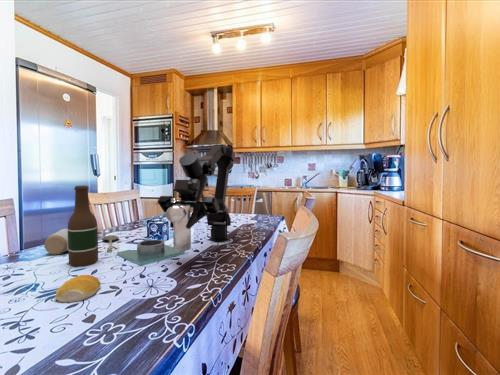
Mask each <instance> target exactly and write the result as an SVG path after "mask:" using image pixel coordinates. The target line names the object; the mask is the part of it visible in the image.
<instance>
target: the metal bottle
mask: <svg viewBox="0 0 500 375" xmlns="http://www.w3.org/2000/svg"><path fill="white" fill-rule="evenodd" d="M165 217H166V220H167V221H169V222H173V228H172V229H173V230H172V232H173V233H172V234H173V238H172V239H173V247H174V250H175V251H185V252H186V251H188V250H191V248H192V236H191V233H192V231H191V229H192V227H191V228H190V229H188V228H187V225H188V222H189V219H190V217H191V208H190V205H189V204H178V205H173V207H170V208H168V209H167V211H166V212H165Z"/></svg>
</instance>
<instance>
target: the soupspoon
mask: <svg viewBox="0 0 500 375" xmlns="http://www.w3.org/2000/svg"><path fill="white" fill-rule="evenodd" d="M119 238H120V236H118V235H115V234H113V235H111V234H110V235H106V236H104V237H102V238H101V240H102V241H108V243H109V244H108V245H109V246H108V248H107V249H106V252H107V253H112V252H113V248H112V244H113V241H115V240H117V239H119Z"/></svg>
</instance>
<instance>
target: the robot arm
mask: <svg viewBox="0 0 500 375" xmlns="http://www.w3.org/2000/svg"><path fill="white" fill-rule="evenodd" d="M235 161H236V153H235V152H234V151H233V149H231V148H229V147H227V145H226V144H223V143H221V144H220V143H219V144H217V143H215V144H213V145H212V148H210V150H209V151H208V152H207V153H205V155H204V156H201V157H198V155H197V153H196V151H188V153H186V154H184V155H182V156H181V157H179V160H178V162H179V164H180V167H181V168H182V171H183V173H184V175H185V177H187V178H188V179H176V180H175V183H174V187H173V191H174V192H176V193H178V194H177V197H178V198H179V199H176V198H174V197H173V195H160V196H159V197H158V200H157V204H158V205H159V206H160V208H161V210H162V211H163V212H164V213H166V211H167V209H168V208H170V207H173V205H178V204H189V205H190V209H192V212H191V213H190V219H189V222H188V225H187V228H188V229H190V228H191V229H192V227H193V226H194V225H195V224H197V223H198V222H199V221H200V220H201V219H203V218H204V217H206V222H207V226H211V227H210V237H209V238H208V240H209V241H213V242H217V243H220V242H224V241H228V240H230V239H231V238H230V237H228V227H230V226H231V225H232V220H231V216H230V214H229V209H228V206H227V204H226V197H227V188H228V182H229V181H228V180H229V174H230V170H232V168H234V164H235ZM216 166H217V176H216V181H215V182H216V183H215V190H214V196H205V195H204V191H205V188H206V187H209V181H208V176H212V175H214V173H215V171H216ZM169 222H170V221H169ZM169 226H170V228H171V229H173V222H170V224H169Z"/></svg>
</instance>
